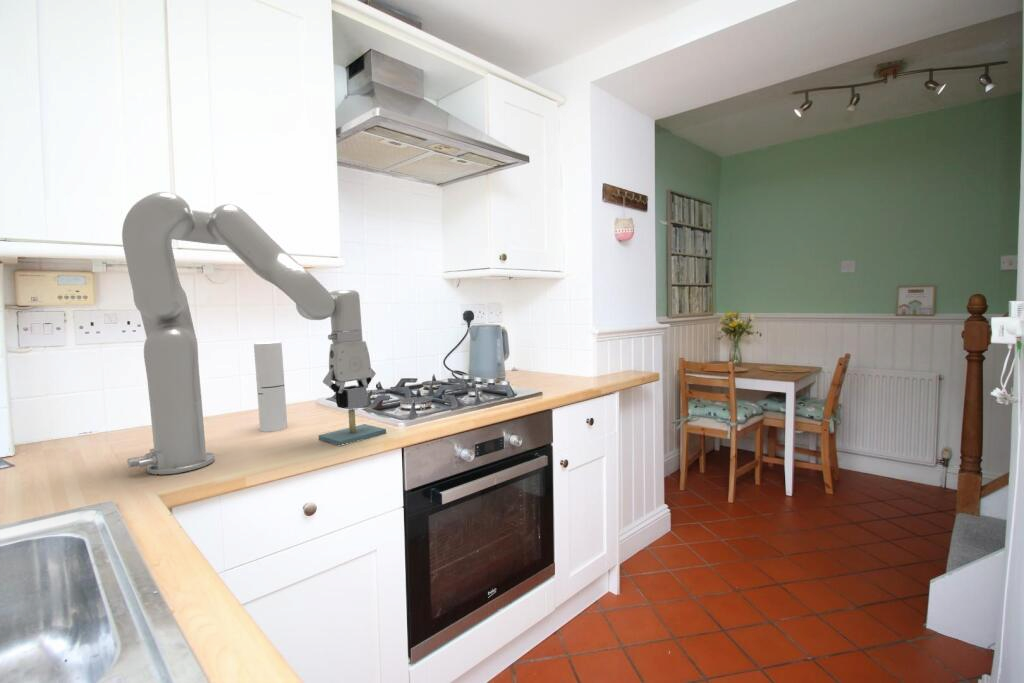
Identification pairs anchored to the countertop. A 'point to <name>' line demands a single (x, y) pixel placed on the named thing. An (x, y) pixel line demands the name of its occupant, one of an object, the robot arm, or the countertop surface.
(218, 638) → the countertop surface
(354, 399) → the grey square nut block
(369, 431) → the teal peg base
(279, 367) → the grey piece
